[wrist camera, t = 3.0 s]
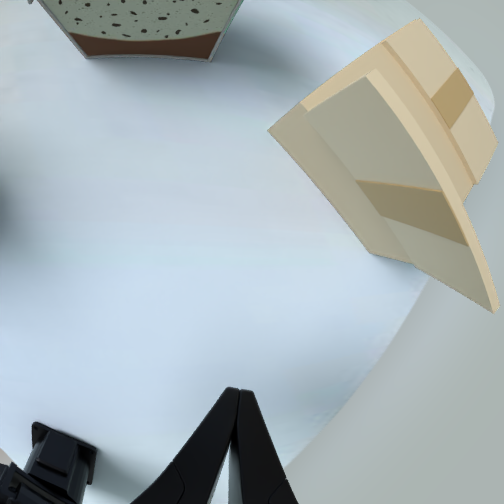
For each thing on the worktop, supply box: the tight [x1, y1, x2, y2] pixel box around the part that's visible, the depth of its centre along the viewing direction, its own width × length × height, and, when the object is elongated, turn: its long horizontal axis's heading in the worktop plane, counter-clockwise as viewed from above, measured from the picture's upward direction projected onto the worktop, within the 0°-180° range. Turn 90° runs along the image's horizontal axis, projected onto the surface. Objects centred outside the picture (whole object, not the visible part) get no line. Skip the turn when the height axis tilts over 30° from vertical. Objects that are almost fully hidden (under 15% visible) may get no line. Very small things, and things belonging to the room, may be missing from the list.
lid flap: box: [303, 68, 500, 314], centre depth 11 cm, size 7×11×1 cm
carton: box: [267, 18, 498, 264], centre depth 18 cm, size 14×12×7 cm
